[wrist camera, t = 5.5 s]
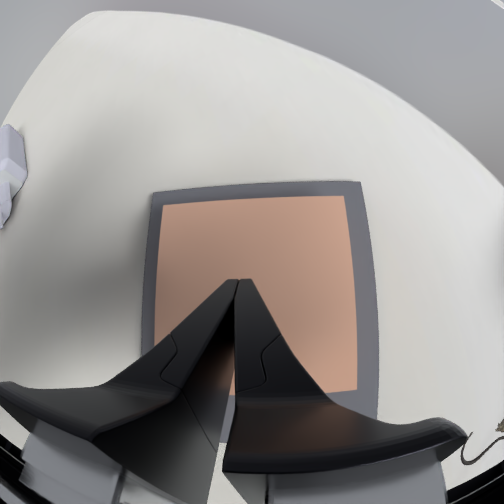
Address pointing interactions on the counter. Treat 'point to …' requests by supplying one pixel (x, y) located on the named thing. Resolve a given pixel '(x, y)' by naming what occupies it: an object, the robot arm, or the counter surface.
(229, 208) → the tile
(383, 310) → the counter surface
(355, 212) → the mat
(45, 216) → the counter surface
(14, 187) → the charger
